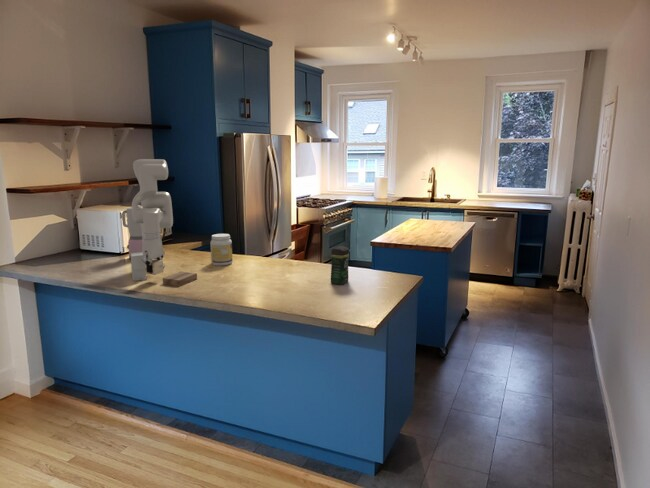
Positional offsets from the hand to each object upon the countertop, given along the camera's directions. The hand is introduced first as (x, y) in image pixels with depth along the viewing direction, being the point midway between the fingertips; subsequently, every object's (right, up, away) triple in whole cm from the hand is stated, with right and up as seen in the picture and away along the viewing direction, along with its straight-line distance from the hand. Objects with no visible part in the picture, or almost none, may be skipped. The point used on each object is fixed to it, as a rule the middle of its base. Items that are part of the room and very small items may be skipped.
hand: (154, 270), depth 239 cm
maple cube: (0, -1, 0) cm, 1 cm away
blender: (-29, +5, +51) cm, 59 cm away
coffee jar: (+93, -6, +2) cm, 93 cm away
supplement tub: (+25, +2, +39) cm, 47 cm away
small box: (-10, -5, +7) cm, 13 cm away
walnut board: (+13, -6, +1) cm, 14 cm away
